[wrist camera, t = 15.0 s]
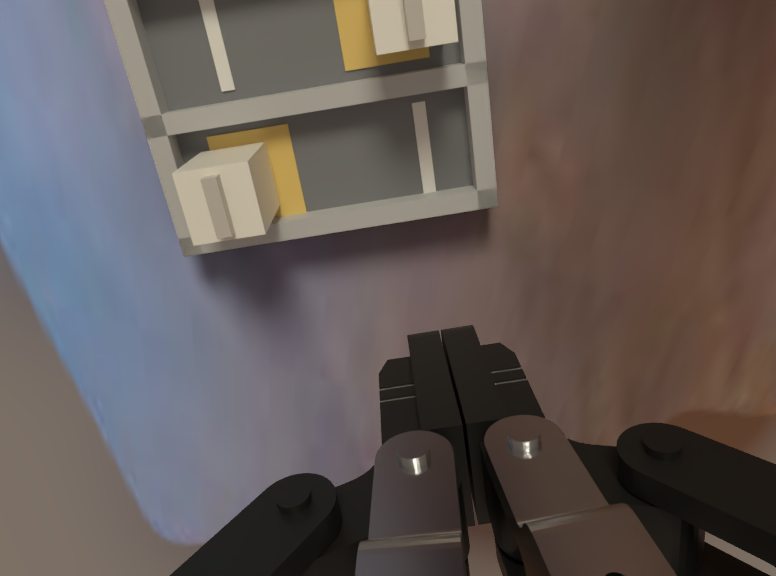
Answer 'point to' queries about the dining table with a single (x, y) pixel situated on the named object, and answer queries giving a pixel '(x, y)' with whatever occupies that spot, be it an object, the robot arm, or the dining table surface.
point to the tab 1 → (227, 193)
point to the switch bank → (313, 109)
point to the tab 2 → (411, 24)
